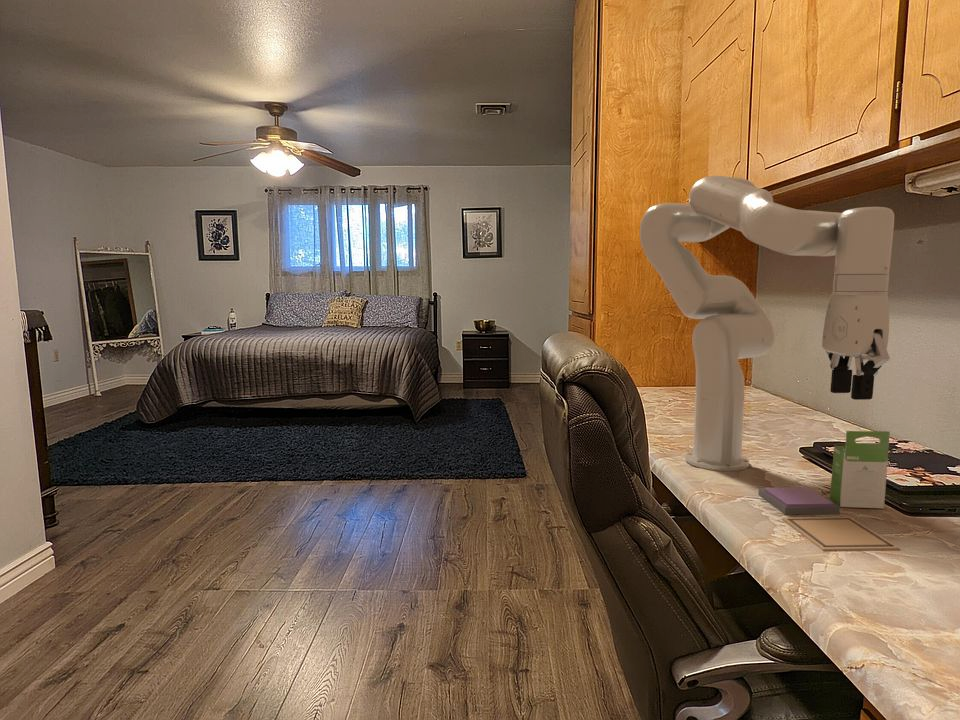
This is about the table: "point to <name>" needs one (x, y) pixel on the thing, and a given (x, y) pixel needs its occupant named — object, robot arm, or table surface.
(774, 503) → the ink pad
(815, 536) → the marked card
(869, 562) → the table surface
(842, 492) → the ink box
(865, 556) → the table surface
